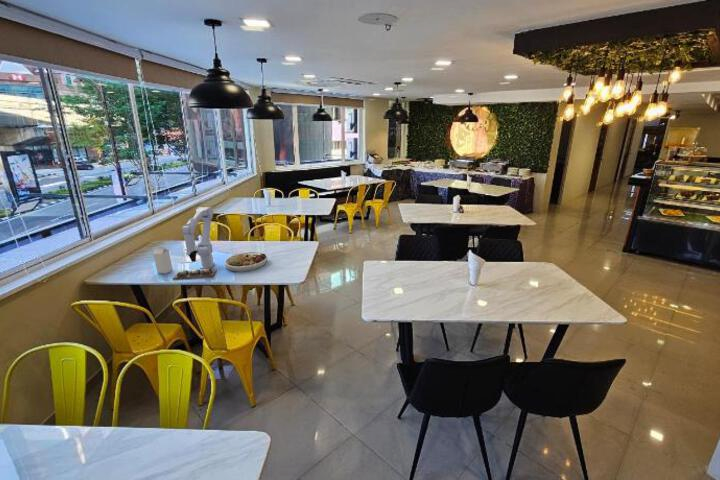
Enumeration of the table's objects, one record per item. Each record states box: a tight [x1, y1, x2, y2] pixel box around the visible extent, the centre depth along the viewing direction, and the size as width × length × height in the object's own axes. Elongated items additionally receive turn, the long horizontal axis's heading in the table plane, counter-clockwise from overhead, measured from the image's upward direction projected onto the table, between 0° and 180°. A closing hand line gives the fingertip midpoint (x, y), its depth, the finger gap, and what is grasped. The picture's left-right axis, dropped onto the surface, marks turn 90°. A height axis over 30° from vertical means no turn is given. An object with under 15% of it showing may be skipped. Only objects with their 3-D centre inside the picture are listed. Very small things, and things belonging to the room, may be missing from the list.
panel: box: [172, 268, 218, 281], centre depth 245 cm, size 11×26×3 cm, turn 96°
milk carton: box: [152, 246, 173, 274], centre depth 251 cm, size 7×7×19 cm
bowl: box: [224, 251, 268, 273], centre depth 260 cm, size 30×30×8 cm
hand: (193, 261), depth 244 cm, fingers closed
